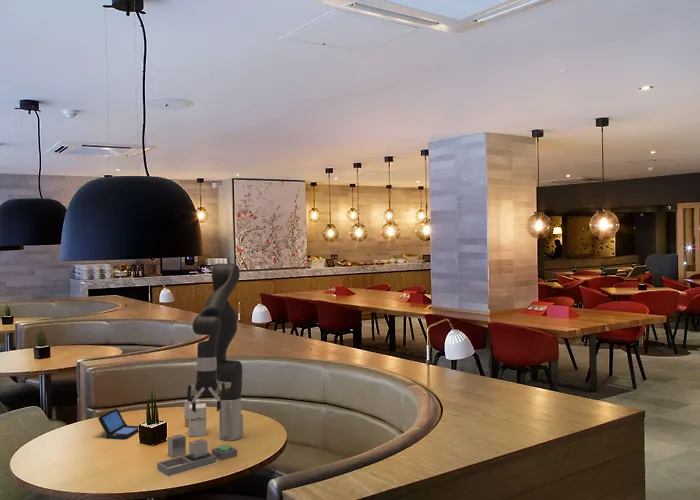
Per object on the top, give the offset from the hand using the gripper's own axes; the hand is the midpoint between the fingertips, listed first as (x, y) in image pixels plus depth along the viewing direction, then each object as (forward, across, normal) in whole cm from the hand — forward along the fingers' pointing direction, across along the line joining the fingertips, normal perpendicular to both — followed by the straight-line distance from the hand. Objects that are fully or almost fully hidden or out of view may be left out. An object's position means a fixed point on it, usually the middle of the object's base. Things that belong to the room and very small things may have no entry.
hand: (206, 411), depth 232 cm
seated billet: (+19, +3, +1) cm, 19 cm away
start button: (+17, -7, -4) cm, 19 cm away
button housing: (+19, -7, -5) cm, 21 cm away
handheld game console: (+18, +36, -47) cm, 62 cm away
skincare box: (+17, +6, -50) cm, 53 cm away
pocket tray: (+20, +7, +3) cm, 21 cm away
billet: (+19, +11, -10) cm, 25 cm away
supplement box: (+18, +3, -38) cm, 42 cm away
